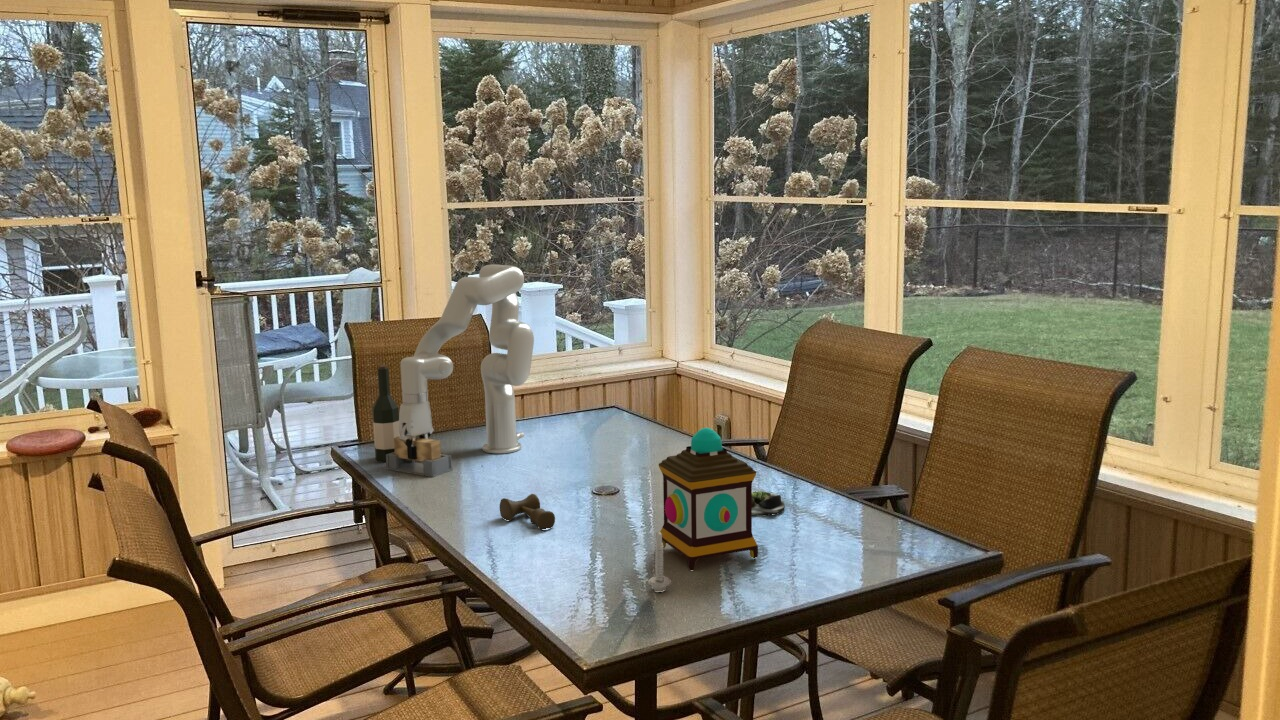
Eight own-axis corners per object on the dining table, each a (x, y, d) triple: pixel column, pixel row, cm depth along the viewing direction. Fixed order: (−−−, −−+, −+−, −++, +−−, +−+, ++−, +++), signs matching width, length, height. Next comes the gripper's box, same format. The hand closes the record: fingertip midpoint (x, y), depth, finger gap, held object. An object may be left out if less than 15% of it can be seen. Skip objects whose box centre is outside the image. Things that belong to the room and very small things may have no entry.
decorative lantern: (687, 575, 226) (685, 442, 221) (650, 547, 244) (648, 423, 239) (766, 561, 234) (767, 431, 229) (725, 534, 252) (724, 414, 247)
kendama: (530, 536, 255) (491, 514, 271) (564, 529, 261) (524, 508, 277) (530, 513, 254) (491, 492, 270) (564, 506, 260) (524, 486, 276)
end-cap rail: (386, 469, 316) (385, 454, 316) (405, 462, 324) (404, 448, 323) (433, 477, 307) (432, 462, 306) (452, 470, 314) (451, 455, 313)
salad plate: (712, 520, 264) (711, 502, 263) (708, 499, 282) (708, 482, 281) (788, 518, 264) (788, 501, 263) (779, 497, 281) (779, 481, 281)
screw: (666, 596, 215) (645, 593, 217) (674, 587, 220) (653, 585, 221) (666, 536, 213) (644, 533, 215) (673, 529, 217) (652, 526, 219)
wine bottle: (398, 462, 324) (392, 368, 319) (371, 462, 324) (365, 368, 319) (404, 455, 332) (399, 363, 327) (379, 455, 333) (373, 363, 327)
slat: (394, 457, 317) (393, 437, 316) (404, 454, 320) (403, 435, 319) (432, 463, 309) (431, 443, 308) (441, 460, 312) (440, 440, 311)
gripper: (424, 392, 320) (427, 449, 323) (385, 401, 306) (388, 461, 309) (443, 394, 317) (445, 452, 320) (404, 404, 302) (407, 465, 305)
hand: (417, 456), depth 314 cm, fingers closed on slat, 4 cm apart
